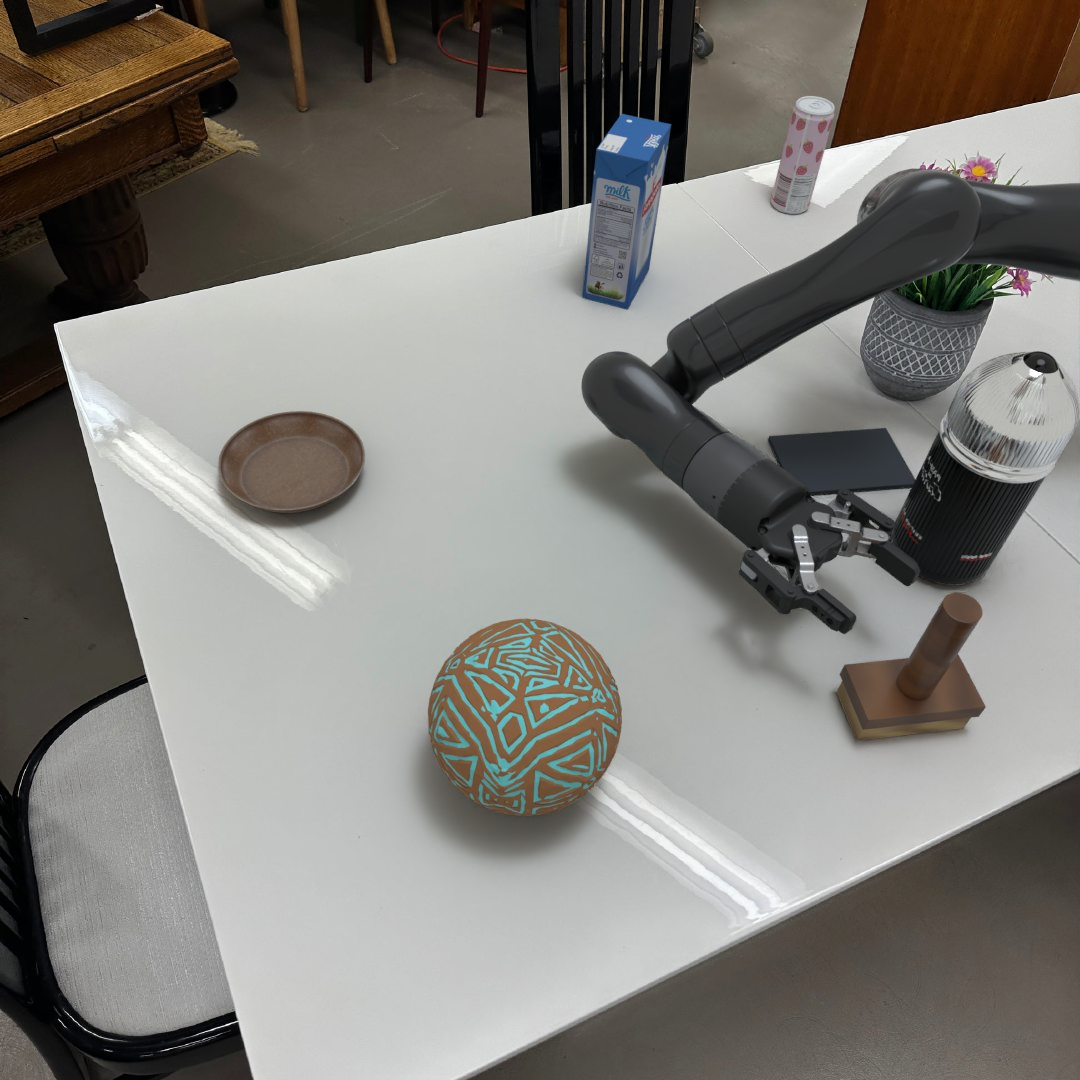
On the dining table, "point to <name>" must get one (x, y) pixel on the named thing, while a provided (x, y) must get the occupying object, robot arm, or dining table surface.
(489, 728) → the decorative sphere
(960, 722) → the brush
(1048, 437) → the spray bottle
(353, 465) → the saucer
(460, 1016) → the dining table surface
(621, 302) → the milk carton
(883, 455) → the mat
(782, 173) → the beverage can
